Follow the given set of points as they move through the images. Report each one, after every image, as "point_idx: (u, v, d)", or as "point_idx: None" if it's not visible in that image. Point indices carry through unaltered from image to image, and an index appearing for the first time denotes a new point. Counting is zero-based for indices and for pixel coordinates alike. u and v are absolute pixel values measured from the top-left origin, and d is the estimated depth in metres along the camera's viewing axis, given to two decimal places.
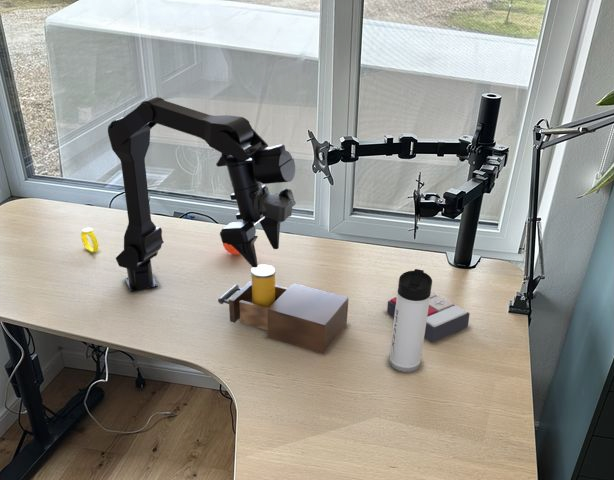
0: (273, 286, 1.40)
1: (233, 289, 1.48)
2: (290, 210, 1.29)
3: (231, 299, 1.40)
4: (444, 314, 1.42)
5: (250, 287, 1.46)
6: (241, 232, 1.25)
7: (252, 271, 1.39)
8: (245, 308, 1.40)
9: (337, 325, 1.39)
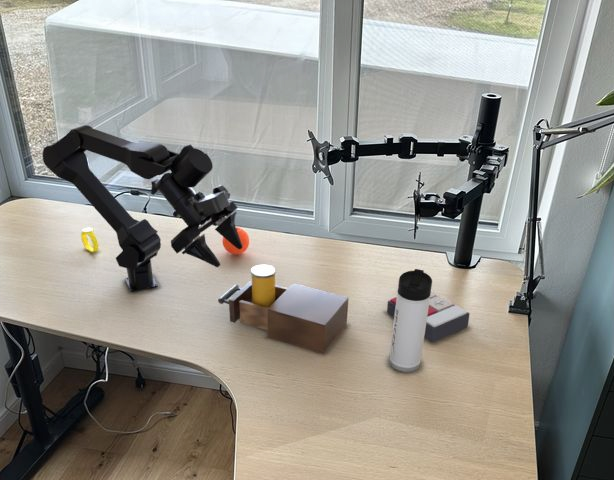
0: (273, 286, 1.40)
1: (233, 289, 1.48)
2: (225, 200, 1.35)
3: (231, 299, 1.40)
4: (444, 314, 1.42)
5: (250, 287, 1.46)
6: (183, 233, 1.31)
7: (252, 271, 1.39)
8: (245, 308, 1.40)
9: (337, 325, 1.39)
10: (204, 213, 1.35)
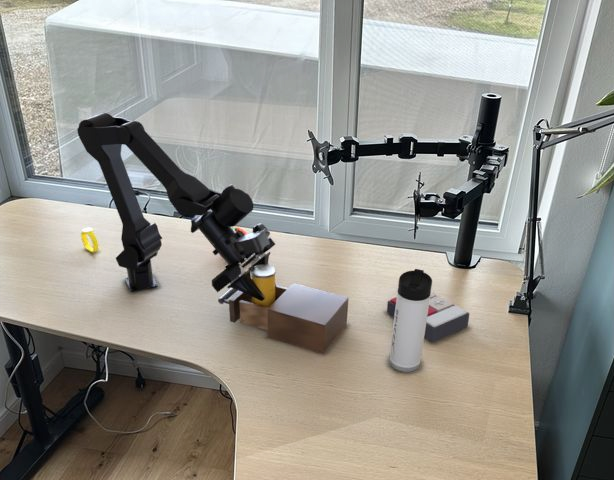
0: (273, 286, 1.40)
1: (233, 289, 1.48)
2: (265, 239, 1.36)
3: (231, 299, 1.40)
4: (444, 314, 1.42)
5: None
6: (225, 273, 1.32)
7: (252, 271, 1.39)
8: (245, 308, 1.40)
9: (337, 325, 1.39)
10: (245, 252, 1.36)
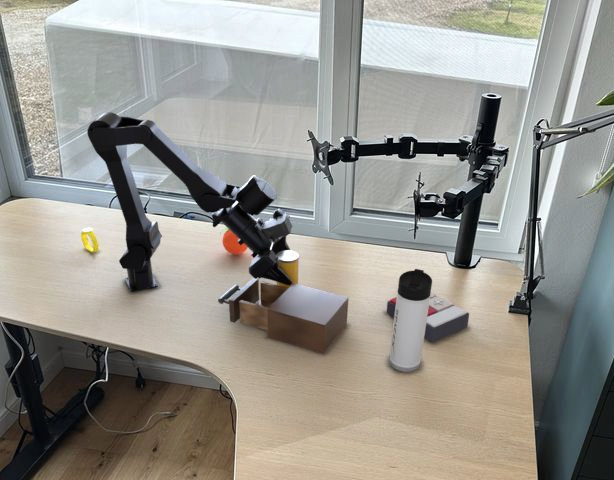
0: None
1: (233, 289, 1.48)
2: (289, 222, 1.45)
3: (231, 299, 1.40)
4: (444, 314, 1.42)
5: (250, 287, 1.46)
6: (265, 259, 1.39)
7: None
8: (245, 308, 1.40)
9: (337, 325, 1.39)
10: (273, 237, 1.44)
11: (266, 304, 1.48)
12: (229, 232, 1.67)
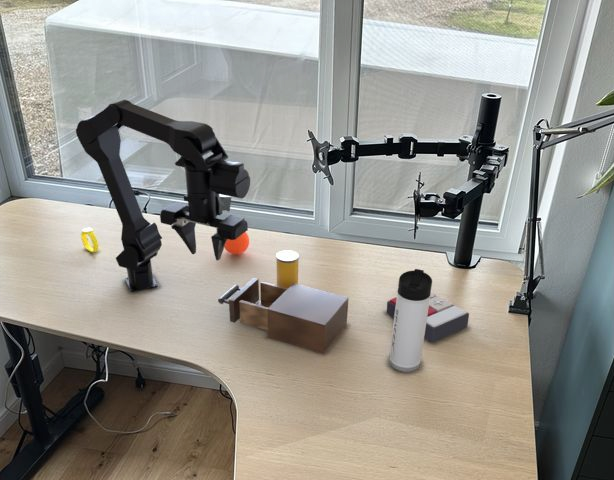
0: None
1: (233, 289, 1.48)
2: None
3: (231, 299, 1.40)
4: (444, 314, 1.42)
5: (250, 287, 1.46)
6: (246, 221, 1.37)
7: (278, 258, 1.48)
8: (245, 308, 1.40)
9: (337, 325, 1.39)
10: (222, 208, 1.40)
11: (266, 304, 1.48)
12: None
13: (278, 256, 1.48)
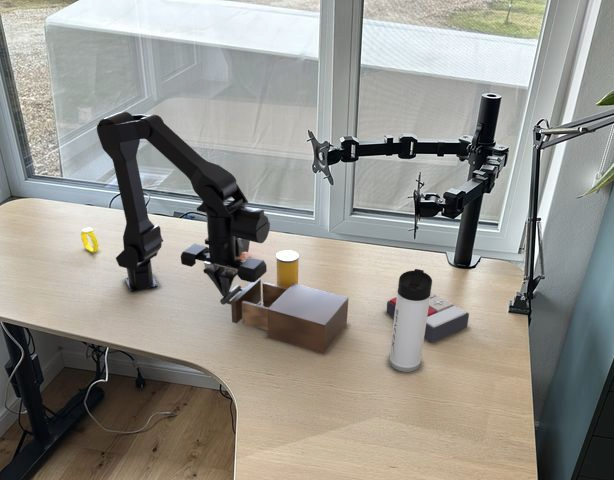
0: None
1: (235, 290, 1.47)
2: None
3: (233, 300, 1.40)
4: (443, 314, 1.42)
5: (252, 288, 1.45)
6: (265, 263, 1.41)
7: (278, 258, 1.48)
8: (248, 308, 1.40)
9: (337, 325, 1.39)
10: (241, 250, 1.44)
11: (268, 305, 1.48)
12: None
13: (278, 256, 1.48)
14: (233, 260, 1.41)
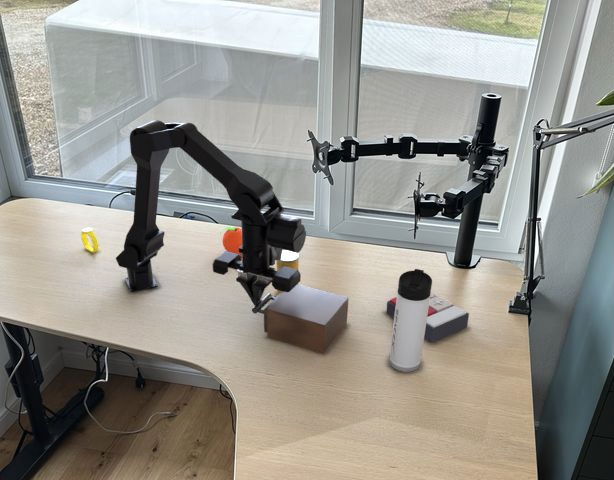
0: None
1: (266, 298, 1.45)
2: None
3: (266, 309, 1.38)
4: (443, 314, 1.42)
5: None
6: (299, 273, 1.38)
7: None
8: None
9: (337, 325, 1.39)
10: (275, 258, 1.41)
11: None
12: (229, 232, 1.67)
13: None
14: (267, 269, 1.38)
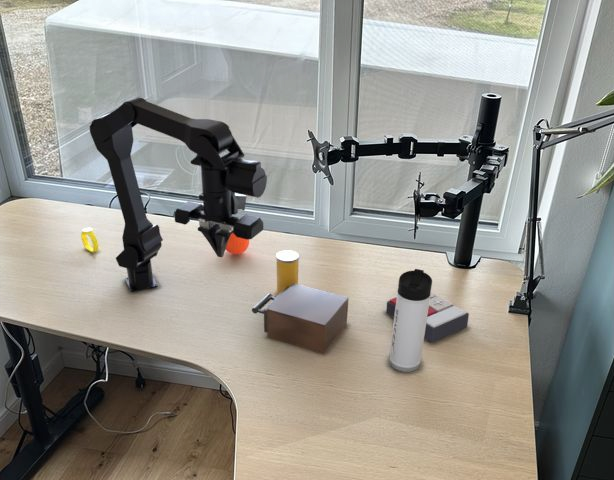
0: None
1: (266, 298, 1.45)
2: None
3: (266, 309, 1.38)
4: (443, 314, 1.42)
5: None
6: (262, 221, 1.35)
7: (278, 258, 1.48)
8: None
9: (337, 325, 1.39)
10: (237, 207, 1.39)
11: None
12: None
13: (278, 256, 1.48)
14: (228, 217, 1.35)
